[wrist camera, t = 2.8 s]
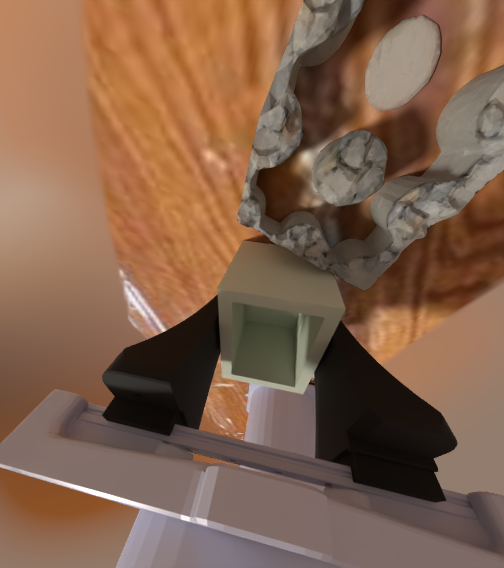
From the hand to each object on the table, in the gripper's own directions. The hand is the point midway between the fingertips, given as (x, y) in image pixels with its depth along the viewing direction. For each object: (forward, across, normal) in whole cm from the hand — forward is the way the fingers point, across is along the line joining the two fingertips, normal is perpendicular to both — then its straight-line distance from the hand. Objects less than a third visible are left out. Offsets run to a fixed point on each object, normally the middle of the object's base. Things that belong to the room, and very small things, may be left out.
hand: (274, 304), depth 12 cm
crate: (+1, 0, 0) cm, 1 cm away
